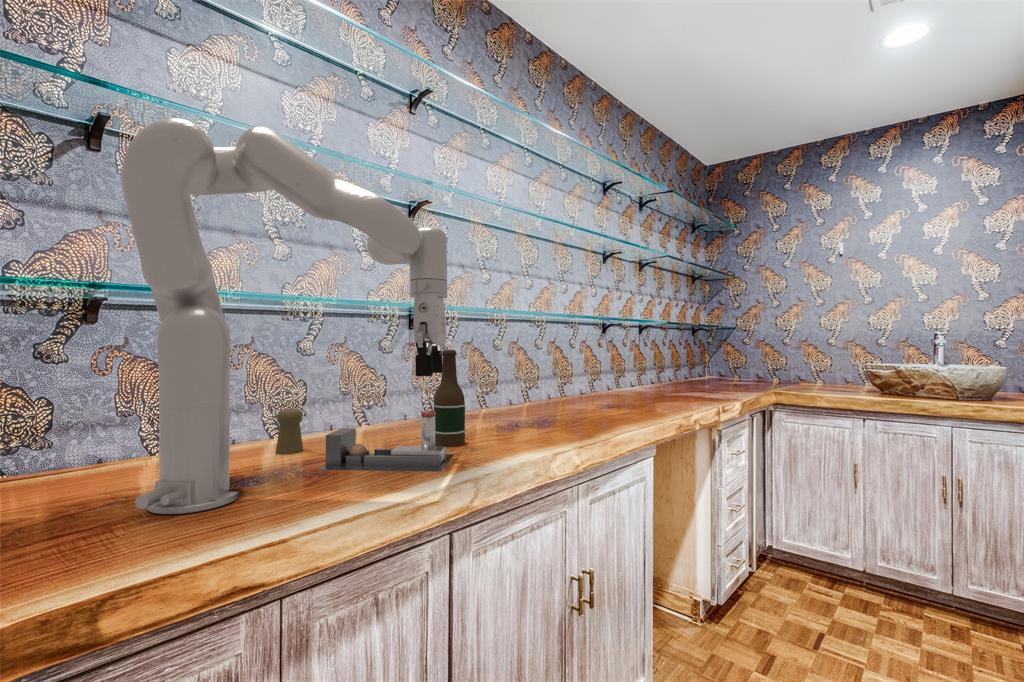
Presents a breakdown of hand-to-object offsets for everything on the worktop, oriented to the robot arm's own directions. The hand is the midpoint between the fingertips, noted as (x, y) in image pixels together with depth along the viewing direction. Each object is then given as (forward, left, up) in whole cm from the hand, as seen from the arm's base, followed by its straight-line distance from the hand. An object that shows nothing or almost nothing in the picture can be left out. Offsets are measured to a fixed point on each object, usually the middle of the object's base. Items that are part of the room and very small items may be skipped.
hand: (429, 374), depth 99 cm
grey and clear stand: (0, +2, -17) cm, 18 cm away
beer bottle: (+18, -1, -20) cm, 26 cm away
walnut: (0, +15, -18) cm, 23 cm away
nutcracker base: (0, +8, -19) cm, 21 cm away
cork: (+8, +33, -20) cm, 39 cm away
